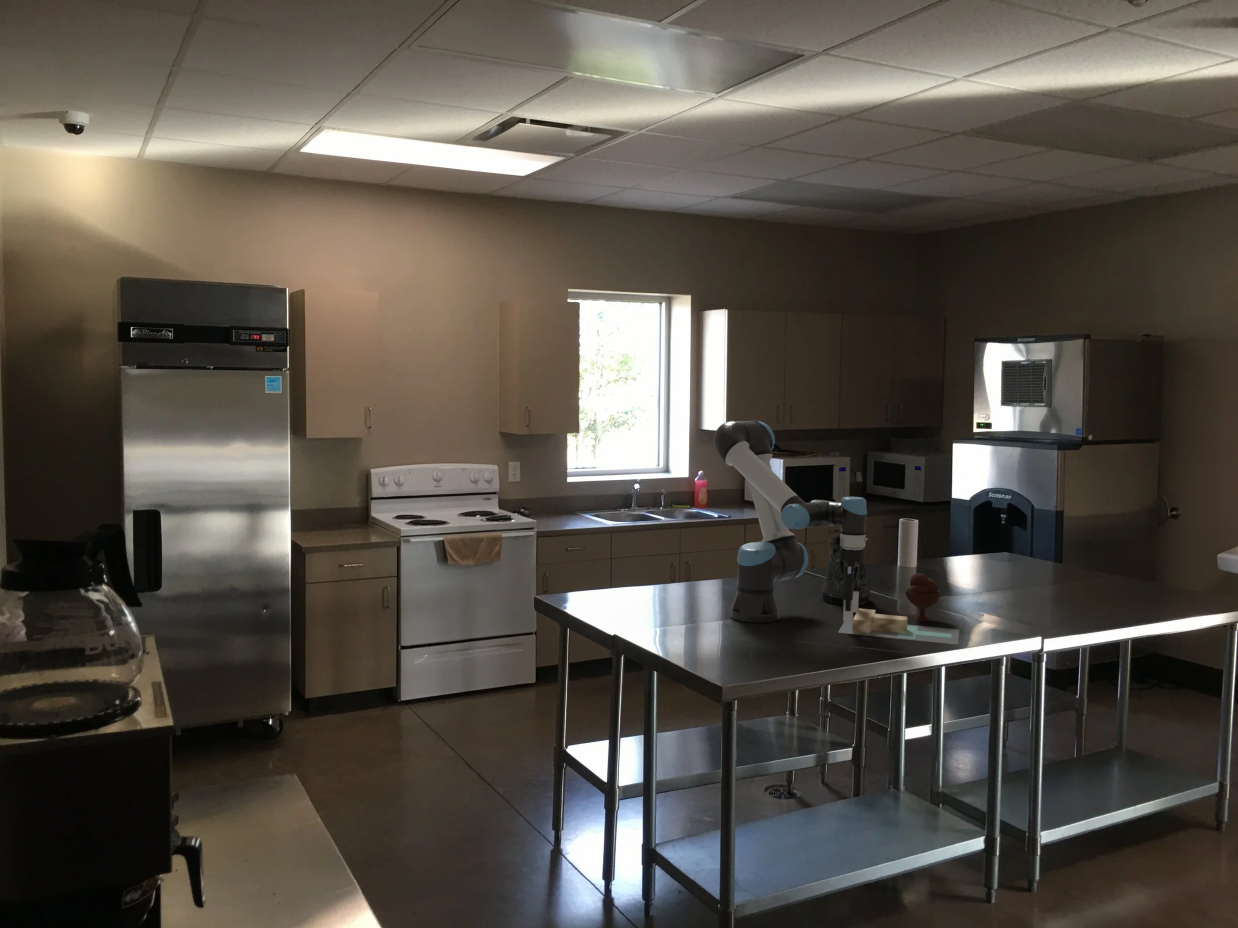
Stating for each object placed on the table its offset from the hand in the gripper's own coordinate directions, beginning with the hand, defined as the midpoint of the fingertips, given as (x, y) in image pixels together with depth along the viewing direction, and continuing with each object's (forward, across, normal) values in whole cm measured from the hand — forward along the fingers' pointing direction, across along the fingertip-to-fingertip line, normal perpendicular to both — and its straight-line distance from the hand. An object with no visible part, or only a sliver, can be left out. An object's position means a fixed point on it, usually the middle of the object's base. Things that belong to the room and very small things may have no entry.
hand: (850, 616), depth 306 cm
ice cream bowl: (+4, +19, -20) cm, 28 cm away
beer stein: (+3, +38, +6) cm, 39 cm away
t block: (+3, 0, -9) cm, 10 cm away
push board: (+4, 0, -14) cm, 15 cm away
